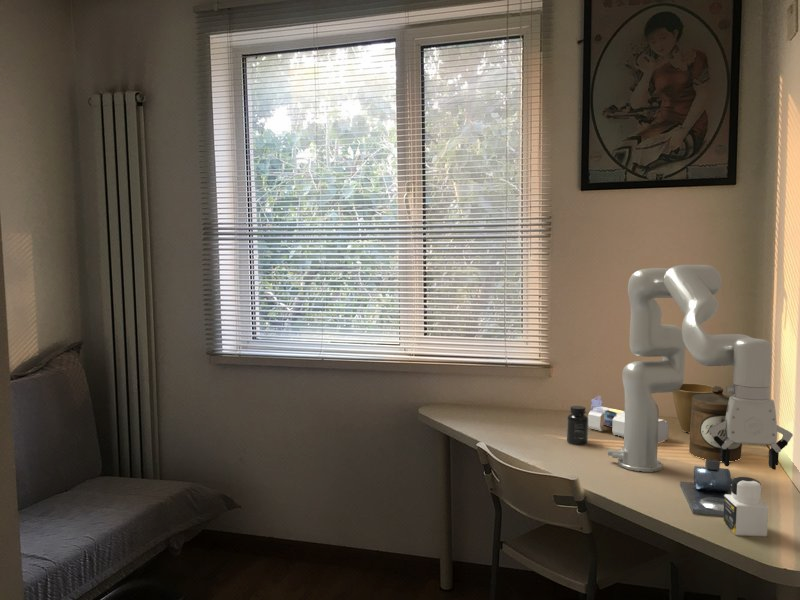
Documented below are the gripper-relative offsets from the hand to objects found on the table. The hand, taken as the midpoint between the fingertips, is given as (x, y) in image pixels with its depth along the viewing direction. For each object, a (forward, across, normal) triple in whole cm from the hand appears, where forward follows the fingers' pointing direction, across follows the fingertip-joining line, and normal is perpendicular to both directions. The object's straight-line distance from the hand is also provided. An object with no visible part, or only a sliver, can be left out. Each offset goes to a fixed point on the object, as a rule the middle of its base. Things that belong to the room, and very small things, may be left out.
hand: (748, 466), depth 154 cm
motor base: (+15, -3, +18) cm, 23 cm away
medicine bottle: (+16, 0, +1) cm, 16 cm away
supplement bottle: (+14, -37, +63) cm, 74 cm away
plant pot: (+14, +3, +87) cm, 88 cm away
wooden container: (+14, +5, +60) cm, 62 cm away
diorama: (+14, -20, +77) cm, 81 cm away
